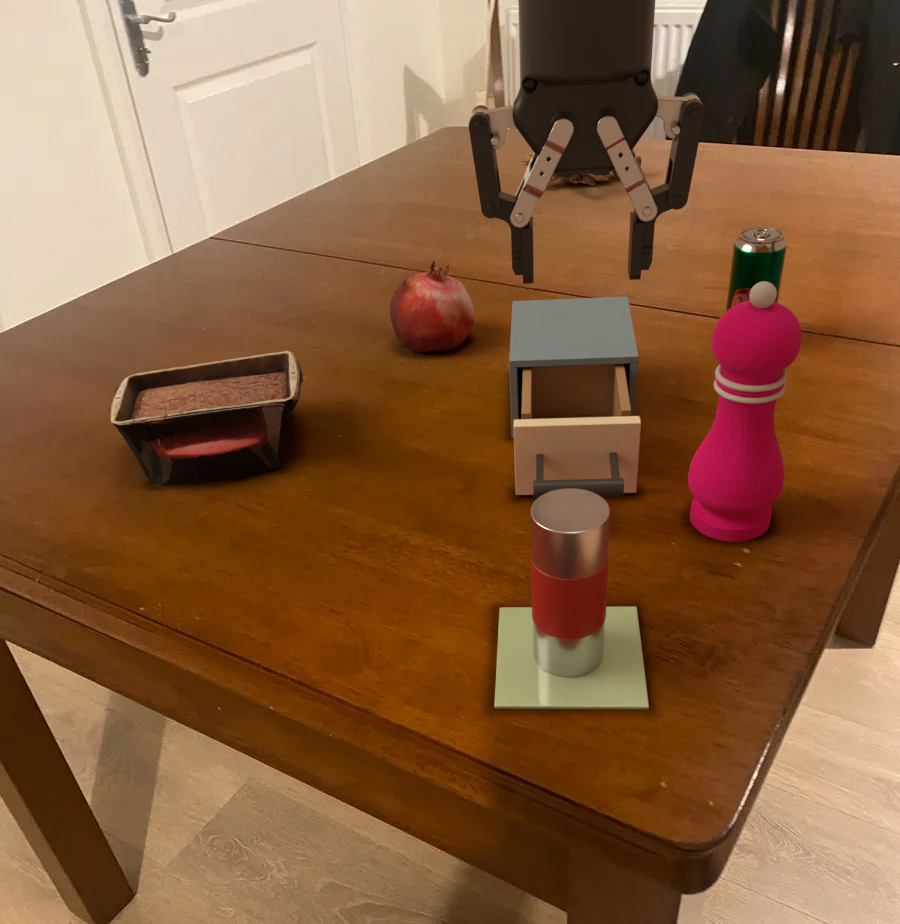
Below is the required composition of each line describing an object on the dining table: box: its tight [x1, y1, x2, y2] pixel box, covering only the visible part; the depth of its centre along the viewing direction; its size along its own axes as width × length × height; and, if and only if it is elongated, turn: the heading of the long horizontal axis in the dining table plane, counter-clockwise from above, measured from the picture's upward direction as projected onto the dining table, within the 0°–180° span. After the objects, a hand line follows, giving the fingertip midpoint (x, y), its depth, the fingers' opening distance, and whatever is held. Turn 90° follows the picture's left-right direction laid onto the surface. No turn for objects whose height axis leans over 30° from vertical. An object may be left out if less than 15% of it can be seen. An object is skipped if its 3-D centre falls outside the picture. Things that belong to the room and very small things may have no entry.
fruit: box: [389, 259, 476, 354], centre depth 101 cm, size 9×10×10 cm
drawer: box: [513, 364, 642, 499], centre depth 79 cm, size 18×10×7 cm, turn 176°
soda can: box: [725, 226, 788, 312], centre depth 95 cm, size 5×5×12 cm
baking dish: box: [108, 350, 304, 487], centre depth 87 cm, size 14×18×10 cm
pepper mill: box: [687, 281, 803, 542], centre depth 68 cm, size 7×7×20 cm
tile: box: [493, 605, 650, 710], centre depth 64 cm, size 10×10×1 cm
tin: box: [529, 488, 611, 677], centre depth 60 cm, size 5×5×12 cm
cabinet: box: [508, 295, 640, 439], centre depth 89 cm, size 13×11×8 cm
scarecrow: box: [519, 151, 642, 188], centre depth 144 cm, size 17×16×8 cm
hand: (581, 276), depth 61 cm, fingers open, 6 cm apart
